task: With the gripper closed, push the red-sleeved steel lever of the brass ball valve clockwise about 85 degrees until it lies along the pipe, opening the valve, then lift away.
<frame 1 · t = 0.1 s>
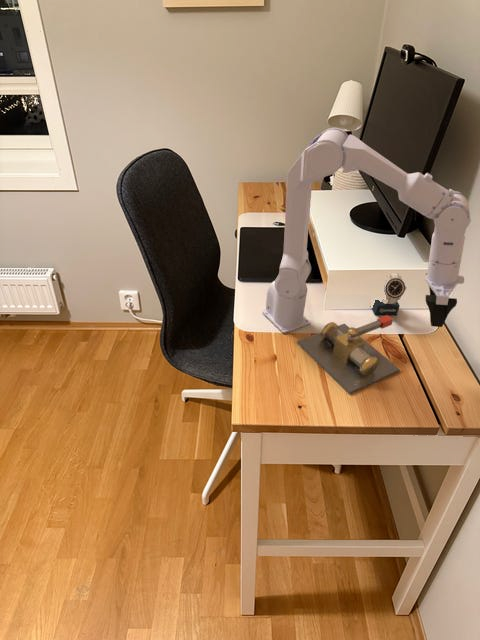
hand: (436, 315, 96), 11 cm above the table, tool pointing down, fingers open, 7 cm apart
lever: (369, 328, 98), point 6 cm above the table, hinge at 0.0°
watch: (383, 311, 115), on the table
valve: (346, 356, 100), on the table
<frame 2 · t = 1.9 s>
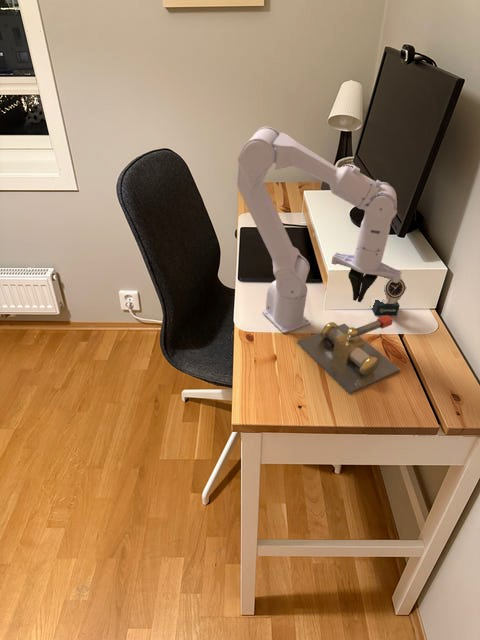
hand: (358, 299, 101), 9 cm above the table, tool pointing down, fingers closed
nothing on the table moved.
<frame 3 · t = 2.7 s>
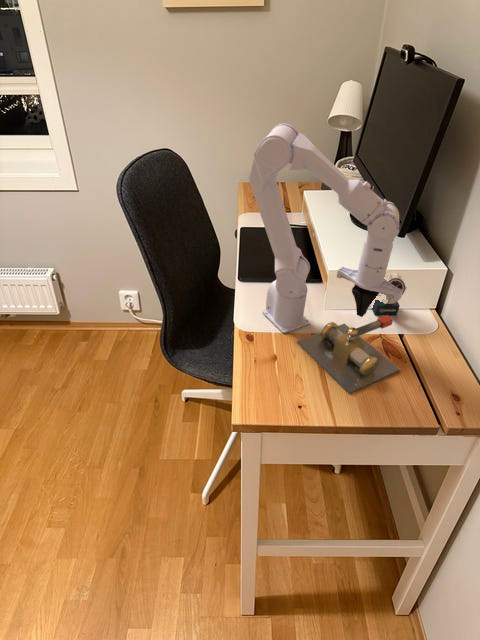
hand: (361, 314, 103), 6 cm above the table, tool pointing down, fingers closed
nothing on the table moved.
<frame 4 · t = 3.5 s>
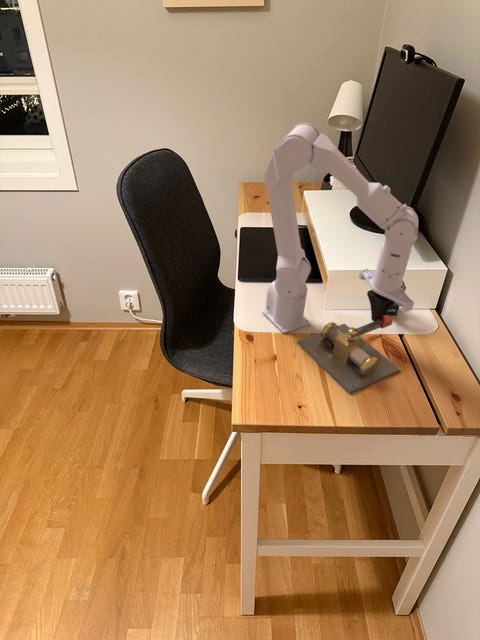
hand: (376, 319, 102), 6 cm above the table, tool pointing down, fingers closed
lever: (369, 328, 98), point 6 cm above the table, hinge at 0.0°, touching gripper
everything else where it was.
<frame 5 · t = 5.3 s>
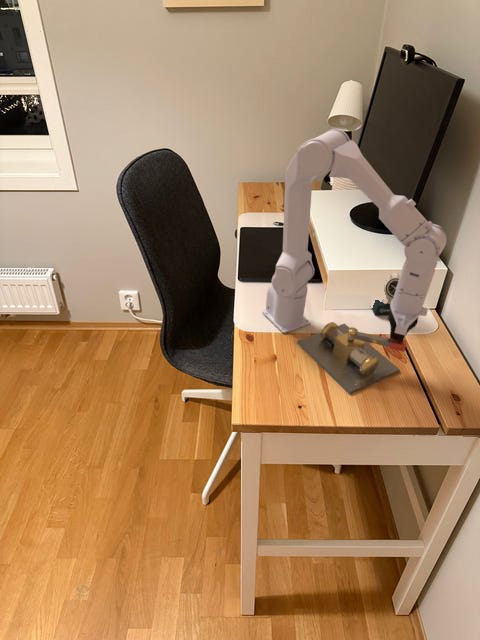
hand: (395, 341, 96), 6 cm above the table, tool pointing down, fingers closed
lever: (375, 340, 95), point 6 cm above the table, hinge at 48.4°, touching gripper
everything else where it was.
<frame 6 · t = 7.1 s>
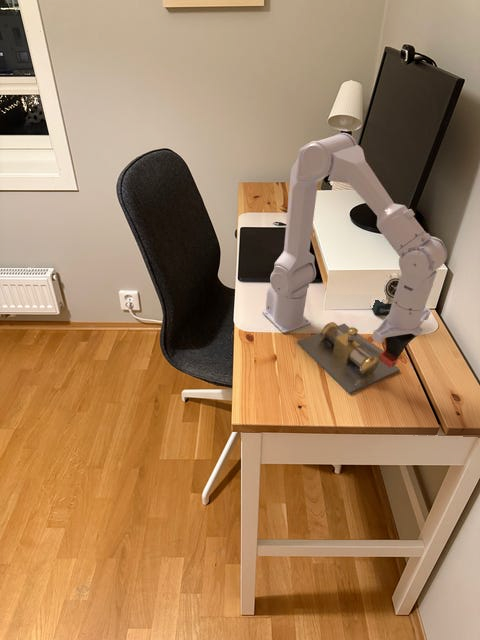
hand: (391, 356, 92), 6 cm above the table, tool pointing down, fingers closed
lever: (370, 347, 93), point 6 cm above the table, hinge at 82.5°, touching gripper
everything else where it was.
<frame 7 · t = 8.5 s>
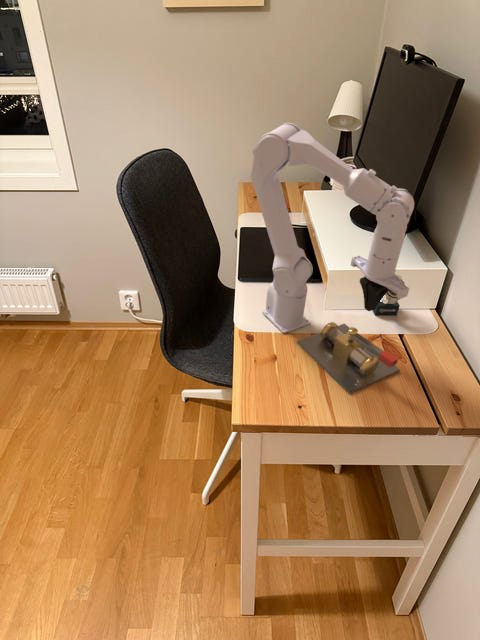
hand: (369, 308, 98), 10 cm above the table, tool pointing down, fingers closed
lever: (370, 347, 93), point 6 cm above the table, hinge at 82.6°
everything else where it was.
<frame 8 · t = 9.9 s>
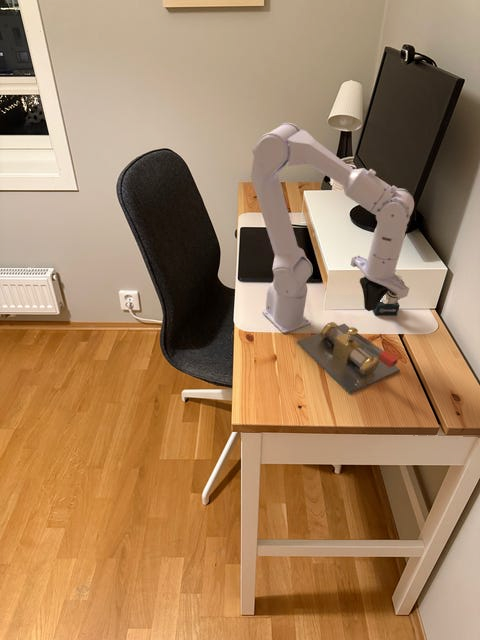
hand: (369, 308, 98), 10 cm above the table, tool pointing down, fingers closed
nothing on the table moved.
at the end: lever at +83° (first picture: +0°); watch moved 0.2 cm from its start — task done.
